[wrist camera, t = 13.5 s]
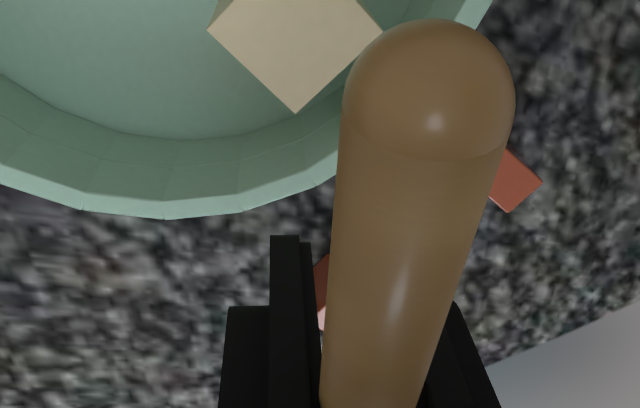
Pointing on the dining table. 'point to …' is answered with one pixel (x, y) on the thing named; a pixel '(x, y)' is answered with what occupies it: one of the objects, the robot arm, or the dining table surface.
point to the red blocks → (506, 192)
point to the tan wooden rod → (407, 203)
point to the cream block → (294, 41)
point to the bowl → (161, 108)
